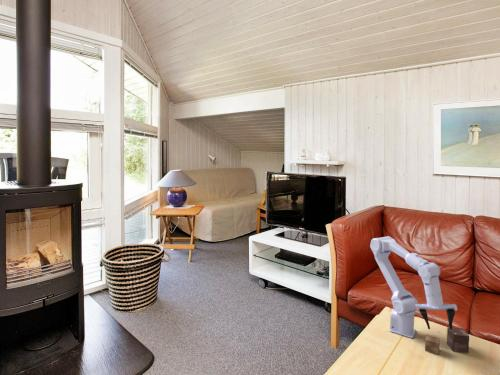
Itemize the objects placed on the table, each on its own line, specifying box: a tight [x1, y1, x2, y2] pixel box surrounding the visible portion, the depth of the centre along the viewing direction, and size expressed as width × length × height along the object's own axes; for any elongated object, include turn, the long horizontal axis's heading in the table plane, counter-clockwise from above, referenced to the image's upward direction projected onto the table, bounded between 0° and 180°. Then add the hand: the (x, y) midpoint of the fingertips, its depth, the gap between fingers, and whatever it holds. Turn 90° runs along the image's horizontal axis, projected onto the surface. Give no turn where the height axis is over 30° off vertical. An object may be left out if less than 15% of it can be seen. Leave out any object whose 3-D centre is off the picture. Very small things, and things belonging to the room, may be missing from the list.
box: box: [446, 326, 470, 354], centre depth 129 cm, size 6×6×7 cm
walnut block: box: [424, 334, 441, 356], centre depth 128 cm, size 4×4×5 cm
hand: (439, 328), depth 126 cm, fingers open, 7 cm apart
